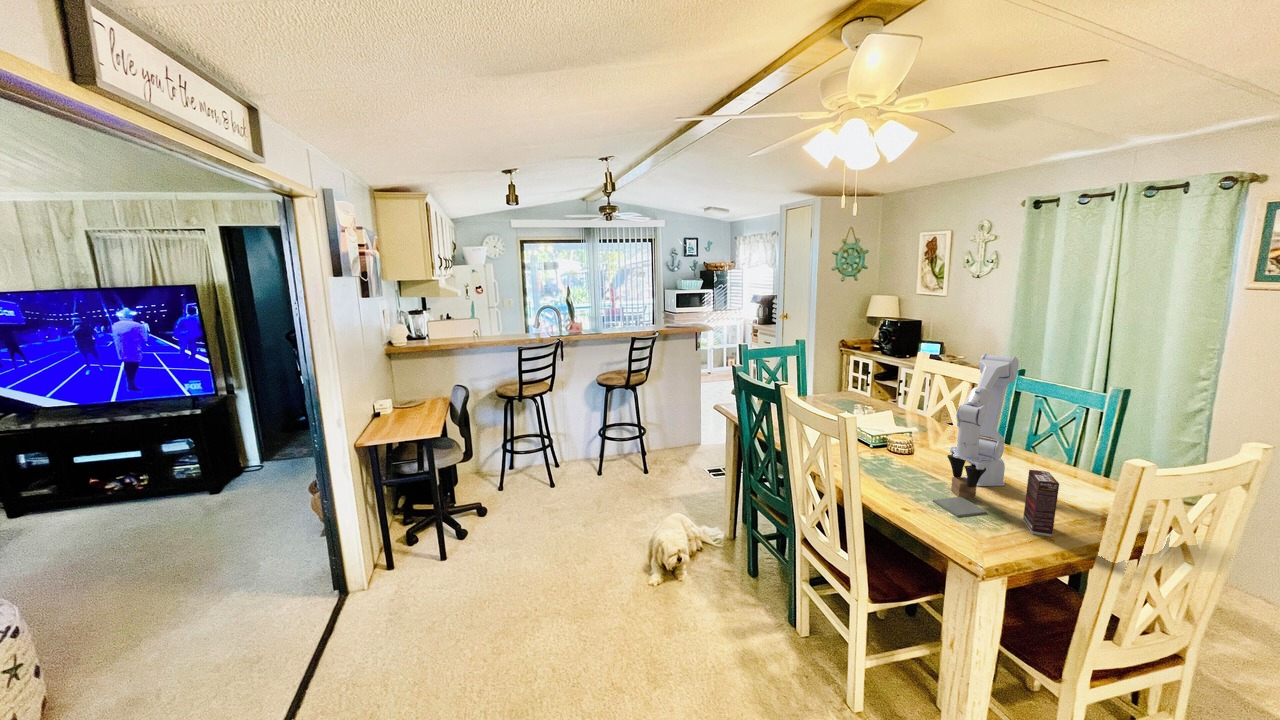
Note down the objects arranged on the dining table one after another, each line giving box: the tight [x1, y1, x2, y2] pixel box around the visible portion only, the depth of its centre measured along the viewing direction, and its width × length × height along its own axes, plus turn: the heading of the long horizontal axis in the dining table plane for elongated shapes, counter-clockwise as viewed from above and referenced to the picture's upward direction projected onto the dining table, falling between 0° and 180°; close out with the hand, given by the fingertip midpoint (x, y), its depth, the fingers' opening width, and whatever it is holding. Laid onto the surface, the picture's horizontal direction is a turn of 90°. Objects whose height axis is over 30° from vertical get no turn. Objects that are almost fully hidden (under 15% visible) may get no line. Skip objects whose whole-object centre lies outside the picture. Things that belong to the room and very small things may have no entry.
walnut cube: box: [950, 476, 978, 499], centre depth 161 cm, size 5×5×5 cm
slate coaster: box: [932, 496, 988, 518], centre depth 153 cm, size 10×10×1 cm
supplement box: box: [1022, 469, 1060, 538], centre depth 138 cm, size 9×5×16 cm, turn 157°
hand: (964, 481), depth 160 cm, fingers open, 7 cm apart
